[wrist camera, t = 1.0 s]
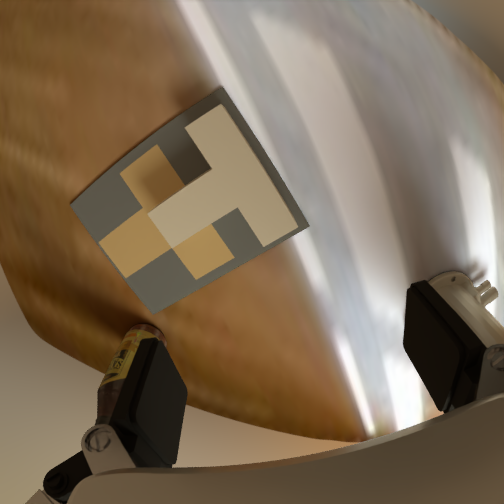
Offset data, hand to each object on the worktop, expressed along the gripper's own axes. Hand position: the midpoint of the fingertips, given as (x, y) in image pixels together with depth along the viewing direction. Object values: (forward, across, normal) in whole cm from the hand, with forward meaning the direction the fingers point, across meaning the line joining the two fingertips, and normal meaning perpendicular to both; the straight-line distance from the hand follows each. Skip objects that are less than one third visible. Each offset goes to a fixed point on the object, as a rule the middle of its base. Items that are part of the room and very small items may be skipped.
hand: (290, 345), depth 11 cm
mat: (+25, +9, 0) cm, 26 cm away
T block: (+24, +5, -2) cm, 25 cm away
